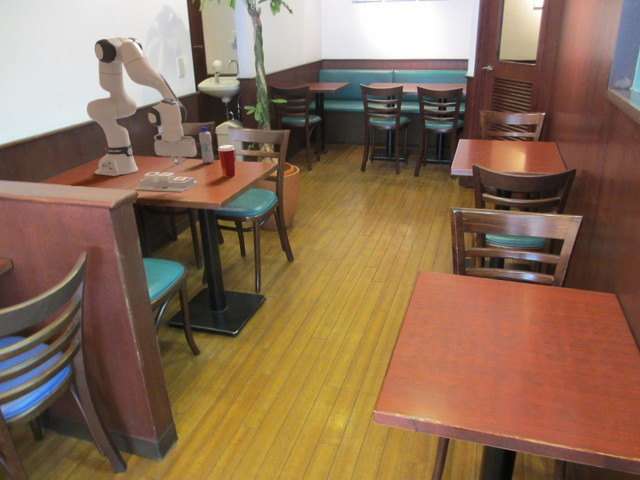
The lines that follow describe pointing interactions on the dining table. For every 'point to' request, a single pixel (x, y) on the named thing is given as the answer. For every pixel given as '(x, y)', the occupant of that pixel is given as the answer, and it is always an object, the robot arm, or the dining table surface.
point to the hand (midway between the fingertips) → (177, 165)
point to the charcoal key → (151, 176)
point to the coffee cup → (227, 160)
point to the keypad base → (166, 185)
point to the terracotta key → (180, 179)
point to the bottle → (206, 145)
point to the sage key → (166, 177)
